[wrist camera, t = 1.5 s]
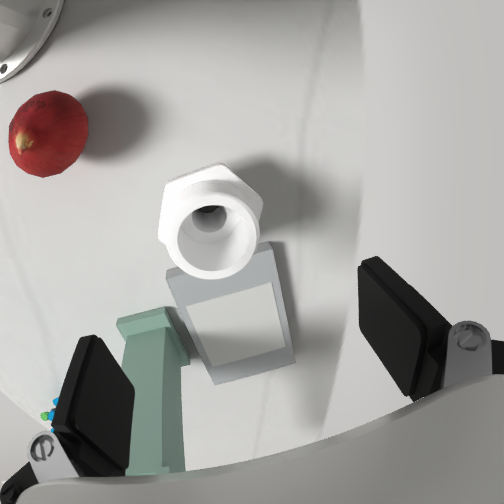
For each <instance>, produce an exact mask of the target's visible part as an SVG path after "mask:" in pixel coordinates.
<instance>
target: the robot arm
mask: <svg viewBox="0 0 504 504" xmlns="http://www.w3.org/2000/svg"><path fill="white" fill-rule="evenodd" d="M63 3H64V0H0V83H1V82H3V81H5V80H7V79H8V78H10V77H12V76H13V75H15V74H16V73H17V72H18V71H19V70H21V69H22V68H23V67H24V66H25V65H26V64H27V63H28V62H29V61H30V60H31V59H32V58H33V57H34V56H35V55H36V53H37V52H38V51H39V50H40V48H41V47H42V46H43V45H44V43H45V41H46V40H47V38H48V37H49V35H50V34H51V32H52V30H53V28H54V26H55V24H56V22H57V20H58V18H59V15H60V12H61V10H62V7H63ZM50 14H51V15H50ZM358 297H359V327H360V330H361V332H362V334H363V335H364V337H365V338H366V340H367V341H368V343H369V344H370V345H371V347H372V348H373V350H374V351H375V353H376V354H377V356H378V357H379V359H380V360H381V361H382V363H383V365H384V366H385V368H386V369H387V370H388V372H389V374H390V375H391V377H392V378H393V380H394V381H395V382H396V384H397V386H398V387H399V389H400V390H401V392H402V393H403V395H404V396H406V397H407V396H410V398H411V399H412V401H413V402H414V403H412V404H409V405H407V406H405V407H403V408H401V409H399V410H397V411H394V412H392V413H390V414H388V415H385V416H383V417H381V418H378V419H376V420H373V421H371V422H369V423H366V424H364V425H362V426H359V427H356V428H354V429H351V430H349V431H346V432H343V433H341V434H338V435H335V436H332V437H330V438H327V439H324V440H321V441H318V442H315V443H311V444H308V445H305V446H302V447H298V448H295V449H292V450H288V451H285V452H281V453H277V454H273V455H270V456H266V457H261V458H257V459H253V460H248V461H244V462H239V463H234V464H229V465H224V466H218V467H212V468H206V469H200V470H193V471H185V472H177V473H168V474H157V475H143V476H125V473H126V469H127V468H128V467H129V458H130V443H131V431H132V419H133V409H134V400H135V389H134V386H133V384H132V383H131V382H130V380H129V379H128V377H127V376H126V374H125V373H124V372H123V370H122V369H121V367H120V366H119V364H118V363H117V361H116V360H115V358H114V357H113V355H112V354H111V352H110V351H109V349H108V348H107V346H106V345H105V343H104V341H103V340H102V339H101V338H98V337H97V336H96V335H89V336H85V337H81V338H80V339H79V341H78V344H77V346H76V349H75V352H74V354H73V357H72V360H71V363H70V366H69V369H68V371H67V374H66V377H65V380H64V383H63V386H62V390H61V393H60V396H59V399H58V402H57V406H56V409H55V413H54V416H53V420H52V423H51V426H52V427H53V428H54V431H53V433H52V432H50V431H43V432H40V433H38V434H36V435H35V436H34V437H33V438H32V440H31V441H30V443H29V445H28V449H27V455H28V459H29V462H28V463H27V464H26V465H25V466H24V467H22V468H21V469H20V470H19V471H18V472H17V473H15V474H14V475H13V476H12V477H11V478H10V479H9V480H7V481H6V482H5V483H4V485H3V486H2V489H1V492H0V501H1V504H504V341H498V340H491V338H490V334H489V332H488V331H487V329H486V328H485V327H484V326H483V325H481V324H479V323H477V322H473V321H462V322H459V323H457V324H455V325H453V326H452V325H451V324H450V323H449V322H448V321H447V320H446V319H445V318H444V317H443V316H442V315H441V314H440V313H439V312H438V311H437V310H436V309H435V308H434V307H433V306H432V305H431V304H430V303H429V302H428V301H427V300H426V299H425V298H424V297H423V296H422V295H420V294H419V293H418V292H417V291H416V290H415V289H414V288H413V287H412V286H411V285H409V284H408V283H407V282H406V281H405V280H404V279H402V278H401V277H400V276H399V275H398V274H397V273H396V272H395V271H394V270H393V269H392V268H391V267H389V266H388V265H387V264H386V263H385V262H384V261H383V260H382V259H380V258H379V257H378V256H375V257H372V258H369V259H366V260H363V261H362V263H361V265H360V266H358ZM423 397H424V398H423ZM421 398H422V399H421ZM419 399H420V400H419ZM417 400H418V401H417ZM415 401H416V402H415ZM111 476H112V477H111Z"/></svg>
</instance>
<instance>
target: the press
mask: <svg viewBox="0 0 504 504" xmlns="http://www.w3.org/2000/svg"><path fill="white" fill-rule="evenodd" d="M166 281H167V284H168V286H169V288H170V291H171V293H172V295H173V298H174V300H175V302H176V305H177V307H178V309H179V311H180V314H181V316H182V318H183V320H184V323H185V325H186V327H187V329H188V331H189V333H190V336H191V338H192V340H193V342H194V344H195V346H196V348H197V350H198V353H199V355H200V357H201V359H202V361H203V363H204V365H205V367H206V369H207V371H208V373H209V375H210V377H211V379H212V381H213V383H214V385H218V384H222V383H226V382H230V381H234V380H238V379H241V378H245V377H249V376H252V375H256V374H260V373H263V372H267V371H270V370H273V369H277V368H280V367H283V366H287V365H290V364H293V363H296V362H295V357H294V352H293V347H292V342H291V337H290V332H289V326H288V321H287V316H286V311H285V307H284V302H283V297H282V292H281V287H280V282H279V277H278V272H277V268H276V263H275V258H274V253H273V249H272V247H271V245H270V244H269V242H265V243H261V244H258V248H257V250H256V252H255V254H254V256H253V257H252V259H251V260H250V261H249V262H248V263H247V265H246V266H244V267H243V268H242V269H241V270H240V271H238V272H237V273H235V274H233V275H231V276H228V277H225V278H221V279H213V280H209V279H201V278H197V277H194V276H192V275H190V274H188V273H186V272H184V271H183V270H182V269H181V268H179V267H177V268H173V269H170V270H167V273H166ZM116 326H117V328H118V330H119V331H120V333H121V335H122V336H123V338H124V340H125V341H126V345H125V350H124V356H123V361H122V367H121V369H122V370H123V372H124V373H125V374H126V376H127V377H128V379H129V380H130V382H131V383H132V384H133V386H134V389H135V400H134V409H133V419H132V431H131V443H130V458H129V467H128V468H127V469H126V473H125V476H143V475H157V474H168V473H177V472H185V458H184V443H183V425H182V402H181V367H182V366H187V365H190V357H189V355H188V353H187V351H186V349H185V347H184V345H183V343H182V341H181V339H180V337H179V335H178V333H177V331H176V329H175V327H174V325H173V323H172V321H171V319H170V316H169V314H168V312H167V310H166V308H165V307H162V308H158V309H154V310H150V311H146V312H143V313H139V314H135V315H131V316H127V317H123V318H119V319H118V320H117V323H116ZM111 477H112V476H111Z"/></svg>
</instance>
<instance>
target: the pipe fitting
mask: <svg viewBox="0 0 504 504" xmlns="http://www.w3.org/2000/svg"><path fill="white" fill-rule="evenodd" d="M209 205H220V206H219V207H218V208H217V209H216V210H215V211H213V212H211V213H201V212H199V211H198V210H196V209H198V208H201V207H203V206H209ZM262 208H263V200H262V199H261V197H260V196H259V195H258V194H257V193H256V192H255V191H254V190H253V189H252V188H250V187H249V186H248V185H247V184H246V183H245V182H244V181H243V180H241V179H240V178H239V177H238V176H237V175H236V174H235V173H233V172H232V171H231V170H230V169H229V168H228V167H226V166H225V165H224V164H222V163H215V164H212V165H209V166H206V167H203V168H200V169H197V170H195V171H192V172H189V173H186V174H184V175H181V176H178V177H176V178H173V179H170V180H169V181H168V182H167V183H166V186H165V189H164V195H163V201H162V208H161V215H160V222H159V229H158V238H159V240H160V241H161V242H162V243H164V244H165V245H166V246H167V249H168V252H169V254H170V256H171V258H172V259H173V261H174V262H175V263H176V265H177V266H178V267H179V268H181V269H182V270H183V271H184V272H186V273H188V274H190V275H192V276H194V277H197V278H201V279H209V280H213V279H221V278H225V277H228V276H231V275H233V274H235V273H237V272H238V271H240V270H241V269H242V268H243V267H244V266H246V265H247V263H248V262H249V261H250V260H251V259H252V257H253V256H254V254H255V252H256V250H257V248H258V244H259V239H260V229H259V220H260V216H261V212H262Z"/></svg>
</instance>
